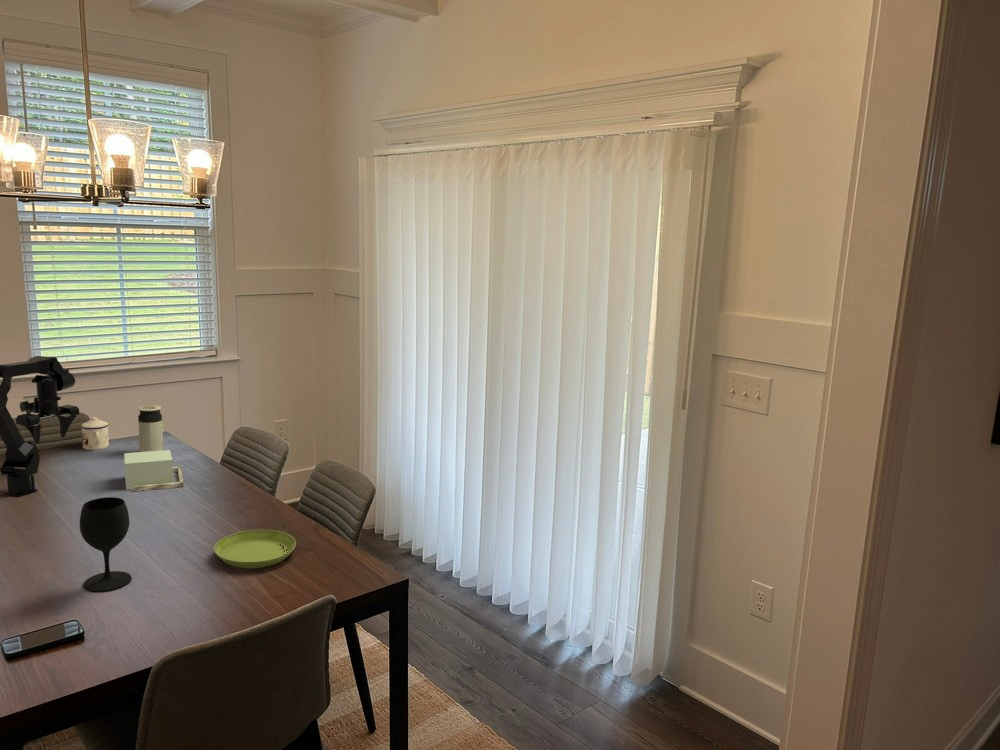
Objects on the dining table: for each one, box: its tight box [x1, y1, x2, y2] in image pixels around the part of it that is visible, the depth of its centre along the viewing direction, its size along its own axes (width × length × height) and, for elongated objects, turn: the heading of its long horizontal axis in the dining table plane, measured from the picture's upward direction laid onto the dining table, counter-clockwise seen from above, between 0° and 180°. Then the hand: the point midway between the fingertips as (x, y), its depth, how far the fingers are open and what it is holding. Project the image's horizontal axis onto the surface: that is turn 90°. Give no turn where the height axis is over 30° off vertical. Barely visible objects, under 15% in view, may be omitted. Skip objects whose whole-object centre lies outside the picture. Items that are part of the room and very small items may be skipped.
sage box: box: [123, 449, 174, 490], centre depth 245 cm, size 14×12×9 cm
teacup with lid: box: [80, 416, 110, 451], centre depth 278 cm, size 12×9×12 cm
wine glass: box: [79, 496, 133, 593], centre depth 175 cm, size 10×10×20 cm
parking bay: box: [133, 465, 184, 492], centre depth 248 cm, size 14×18×2 cm
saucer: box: [213, 529, 297, 569], centre depth 196 cm, size 21×21×3 cm
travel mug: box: [137, 404, 164, 452], centre depth 273 cm, size 8×8×18 cm
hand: (50, 440), depth 243 cm, fingers open, 9 cm apart
